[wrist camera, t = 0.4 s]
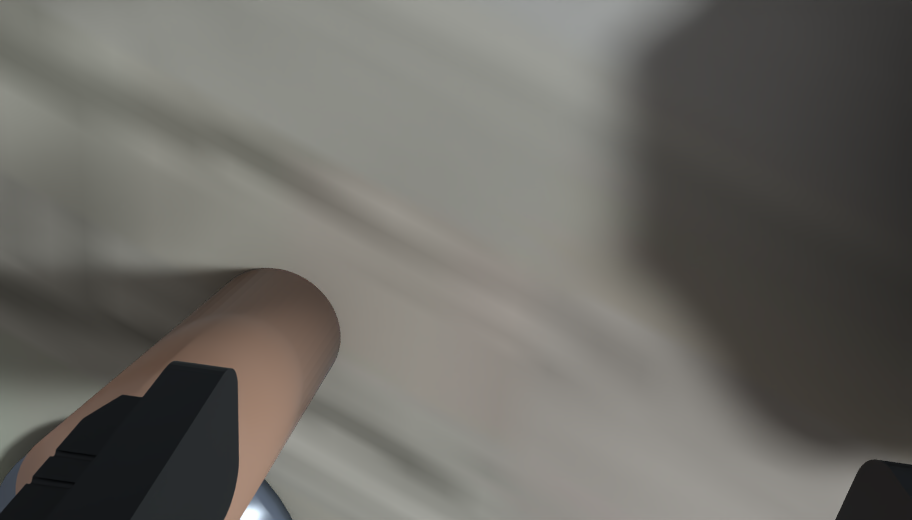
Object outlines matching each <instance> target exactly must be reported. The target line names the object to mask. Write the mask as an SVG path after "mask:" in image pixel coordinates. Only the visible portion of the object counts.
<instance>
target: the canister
mask: <svg viewBox="0 0 912 520" xmlns="http://www.w3.org/2000/svg"><path fill="white" fill-rule="evenodd" d="M339 347H340V326H339V322H338V318H337V316H336V313H335V311H334V309H333V307H332V305H331V304H330V302H329V301H328V299H327V298H326V297H325V295H324V294H323V293H322V292H321V291H320V290H319V289H318V288H317V287H316V286H314V285H313V284H312V283H311V282H309V281H308V280H306V279H305V278H303V277H301V276H299V275H297V274H294V273H291V272H289V271H285V270H281V269H273V268H261V269H254V270H251V271H247V272H245V273H242V274H240V275H238V276H237V277H235V278H234V279H232V280H231V281H230V282H228V283H227V284H226V285H225V286H224V287H223V288H221V289H220V290H219V291H218V292H217V293H215V294H214V295H213V296H212V297H211V298H209V299H208V300H207V301H206V302H205V303H203V304H202V305H201V306H200V307H199V308H198V309H196V310H195V311H194V312H193V313H192V314H190V315H189V316H188V317H187V318H186V319H184V320H183V321H182V322H181V323H180V324H178V325H177V326H176V327H175V328H174V329H173V330H171V331H170V332H169V333H168V334H167V335H165V336H164V337H163V338H162V339H161V340H159V341H158V342H157V343H156V344H155V345H153V346H152V347H151V348H150V349H149V350H148V351H146V352H145V353H144V354H143V355H142V356H140V357H139V358H138V359H137V360H136V361H134V362H133V363H132V364H131V365H130V366H129V367H127V368H126V369H125V370H124V371H123V372H121V373H120V374H119V375H118V376H117V377H115V378H114V379H113V380H112V381H111V382H109V383H108V384H107V385H106V386H105V387H104V388H102V389H101V390H100V391H99V392H98V393H96V394H95V395H94V396H93V397H92V398H90V399H89V400H88V401H87V402H86V403H84V404H83V405H82V406H81V407H80V408H79V409H77V410H76V411H75V412H74V413H73V414H71V415H70V416H69V417H68V418H67V419H65V420H64V421H63V422H62V423H61V424H59V425H58V426H57V427H56V428H55V429H54V430H52V431H51V432H50V433H49V434H48V435H46V436H45V437H44V438H43V439H42V440H40V441H39V442H38V443H37V444H36V445H35V446H34V447H33V448H32V449H31V450H30V451H29V453H28V454H27V455H26V457H25V458H24V460H23V462H22V464H21V466H20V469H19V472H18V475H17V481H16V495H17V493H18V492H19V491H20V490H21V489H22V488H23V487H24V485H25V484H26V483H27V484H30V483H31V481H32V476H33V475H34V474H35V473H36V472H37V470H38V469H39V468H40V467H41V466H42V465H43V464H44V462H45V461H46V460H47V459H48V458H49V457H50V456H54V455H55V452H56V449H57V447H58V446H59V445H60V444H61V443H62V442H63V441H64V439H65V438H66V437H67V436H68V435H69V434H70V433H71V431H72V430H73V429H74V428H75V427H76V426H77V425H78V423H79V422H80V421H81V420H82V419H83V418H84V417H86V416H88V415H89V414H91V413H93V412H94V411H96V410H97V409H99V408H101V407H102V406H104V405H106V404H107V403H109V402H111V401H112V400H114V399H116V398H117V397H119V396H121V395H129V396H137V397H143V396H144V394H145V393H146V392H147V391H148V389H149V388H150V387H151V386H152V384H153V383H154V382H155V380H156V379H157V378H158V377H159V375H160V374H161V373H162V371H163V370H164V369H165V368H166V367H167V365H168V364H169V363H171V362H172V361H182V362H190V363H197V364H204V365H211V366H218V367H226V368H233V369H234V370H235V372H236V374H237V379H238V422H239V470H238V478H237V483H236V488H235V492H234V496H233V499H232V502H231V505H230V508H229V510H228V512H227V515H226V517H225V519H224V520H240V518H241V517H242V515H243V513H244V512H245V510H246V508H247V507H248V505H249V503H250V502H251V500H252V498H253V497H254V495H255V493H256V492H257V490H258V488H259V487H260V485H261V483H262V482H263V480H264V478H265V477H266V475H267V473H268V472H269V470H270V468H271V467H272V465H273V464H274V462H275V460H276V459H277V457H278V455H279V454H280V452H281V450H282V449H283V447H284V445H285V444H286V442H287V440H288V439H289V437H290V435H291V434H292V432H293V430H294V429H295V427H296V425H297V424H298V422H299V420H300V419H301V417H302V415H303V414H304V412H305V410H306V409H307V407H308V405H309V404H310V402H311V400H312V399H313V397H314V395H315V394H316V392H317V390H318V389H319V387H320V385H321V384H322V382H323V380H324V379H325V377H326V375H327V374H328V372H329V370H330V369H331V367H332V365H333V364H334V362H335V360H336V358H337V355H338V352H339Z"/></svg>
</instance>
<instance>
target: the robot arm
mask: <svg viewBox="0 0 912 520" xmlns="http://www.w3.org/2000/svg"><path fill="white" fill-rule="evenodd" d="M238 470H239V422H238V379H237V374H236V372H235V370H234V369H233V368H226V367H218V366H211V365H204V364H197V363H190V362H182V361H172V362H171V363H169V364H168V365H167V367H166V368H165V369H164V370H163V371H162V373H161V374H160V375H159V377H158V378H157V379H156V380H155V382H154V383H153V384H152V386H151V387H150V388H149V389H148V391H147V392H146V393H145V394H144V396H143V397H137V396H129V395H121V396H119V397H117V398H116V399H114V400H112V401H111V402H109V403H107V404H106V405H104V406H102V407H101V408H99V409H97V410H96V411H94V412H93V413H91V414H89V415H88V416H86V417H84V418H83V419H82V420H81V421H80V422H79V423H78V425H77V426H76V427H75V428H74V429H73V430H72V431H71V433H70V434H69V435H68V436H67V437H66V438H65V439H64V441H63V442H62V443H61V444H60V445H59V446H58V447H57V449H56V452H55V455H54V456H50V457H49V458H48V459H47V460H46V461H45V462H44V464H43V465H42V466H41V467H40V468H39V469H38V470H37V472H36V473H35V474H34V475H33V476H32V481H31V483H30V484H27V483H26V484H25V485H24V487H23V488H22V489H21V490H20V491H19V492H18V493H17V495H16V496H15V497H14V498H13V499H12V500H11V501H10V503H9V504H8V505H7V506H6V507H5V508H4V509H3V511H2V512H1V513H0V520H224V519H225V517H226V515H227V512H228V510H229V508H230V505H231V502H232V499H233V496H234V492H235V488H236V483H237V478H238ZM835 520H912V465H911V464H904V463H896V462H889V461H882V460H875V459H874V460H869V461H867V462H866V463H864V464H863V465H862V466H861V468H860V469H859V471H858V472H857V474H856V476H855V479H854V481H853V483H852V485H851V487H850V489H849V491H848V494H847V496H846V498H845V500H844V502H843V504H842V507H841V509H840V511H839V513H838V515H837V517H836V519H835Z"/></svg>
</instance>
